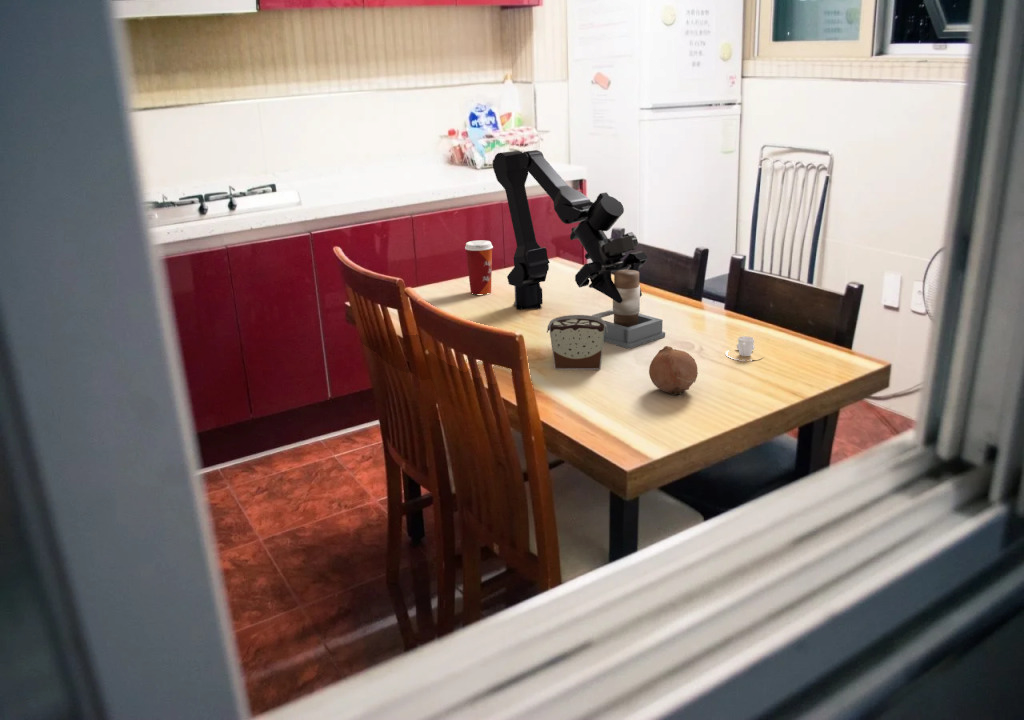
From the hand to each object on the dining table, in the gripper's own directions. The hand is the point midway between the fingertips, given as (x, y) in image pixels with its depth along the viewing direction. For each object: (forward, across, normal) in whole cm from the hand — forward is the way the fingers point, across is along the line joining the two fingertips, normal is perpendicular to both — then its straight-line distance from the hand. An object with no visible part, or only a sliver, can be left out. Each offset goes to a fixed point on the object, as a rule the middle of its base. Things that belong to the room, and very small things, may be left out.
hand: (630, 299), depth 186 cm
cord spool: (+4, 0, +6) cm, 7 cm away
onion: (+26, -18, -13) cm, 34 cm away
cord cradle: (+5, 0, +7) cm, 9 cm away
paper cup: (-32, 0, +46) cm, 56 cm away
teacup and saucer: (+25, +11, -12) cm, 30 cm away
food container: (+10, -20, +3) cm, 23 cm away
